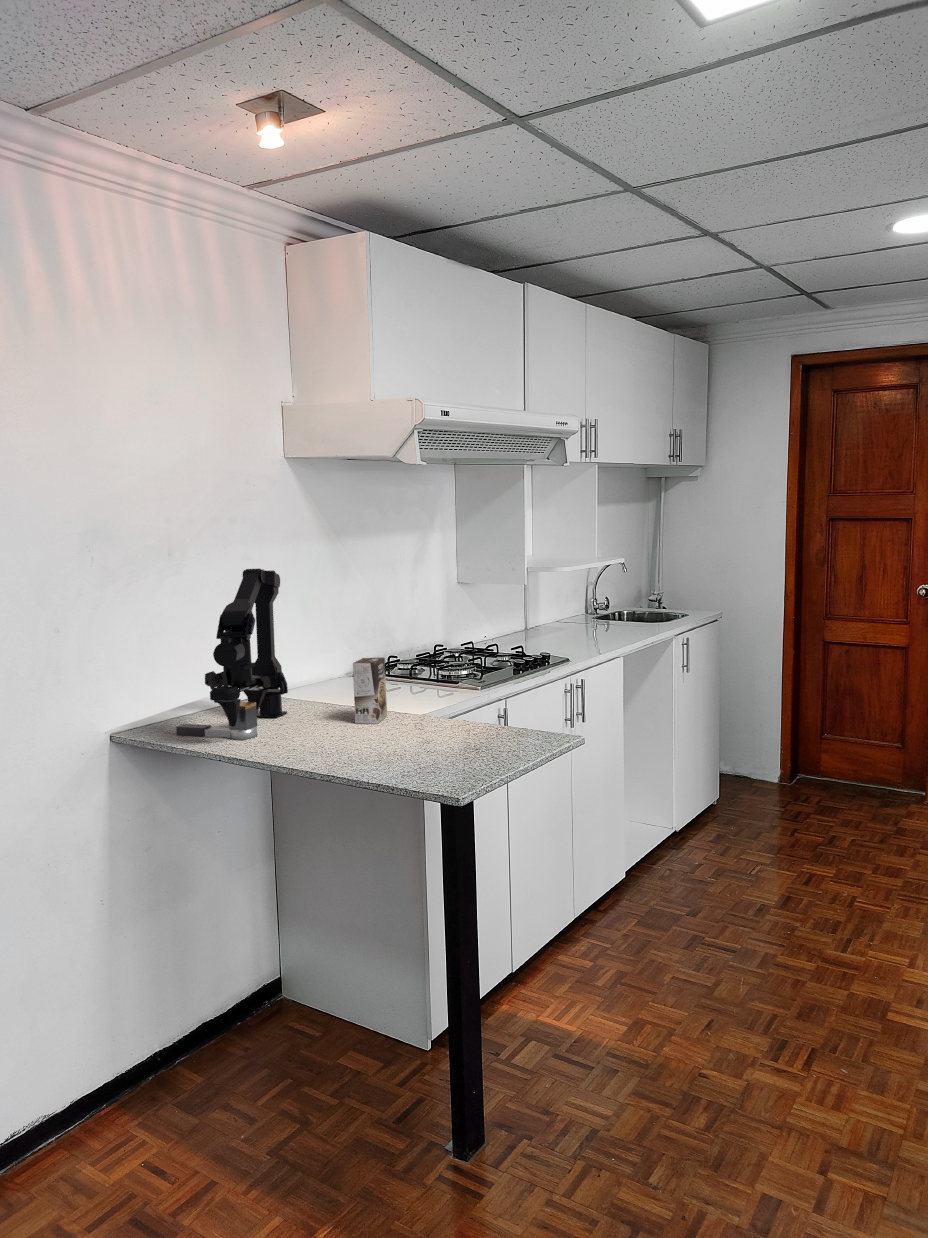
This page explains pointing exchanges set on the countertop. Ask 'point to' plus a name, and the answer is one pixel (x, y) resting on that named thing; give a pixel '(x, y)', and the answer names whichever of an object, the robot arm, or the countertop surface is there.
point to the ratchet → (215, 732)
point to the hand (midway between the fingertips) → (243, 722)
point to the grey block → (246, 716)
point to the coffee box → (370, 690)
